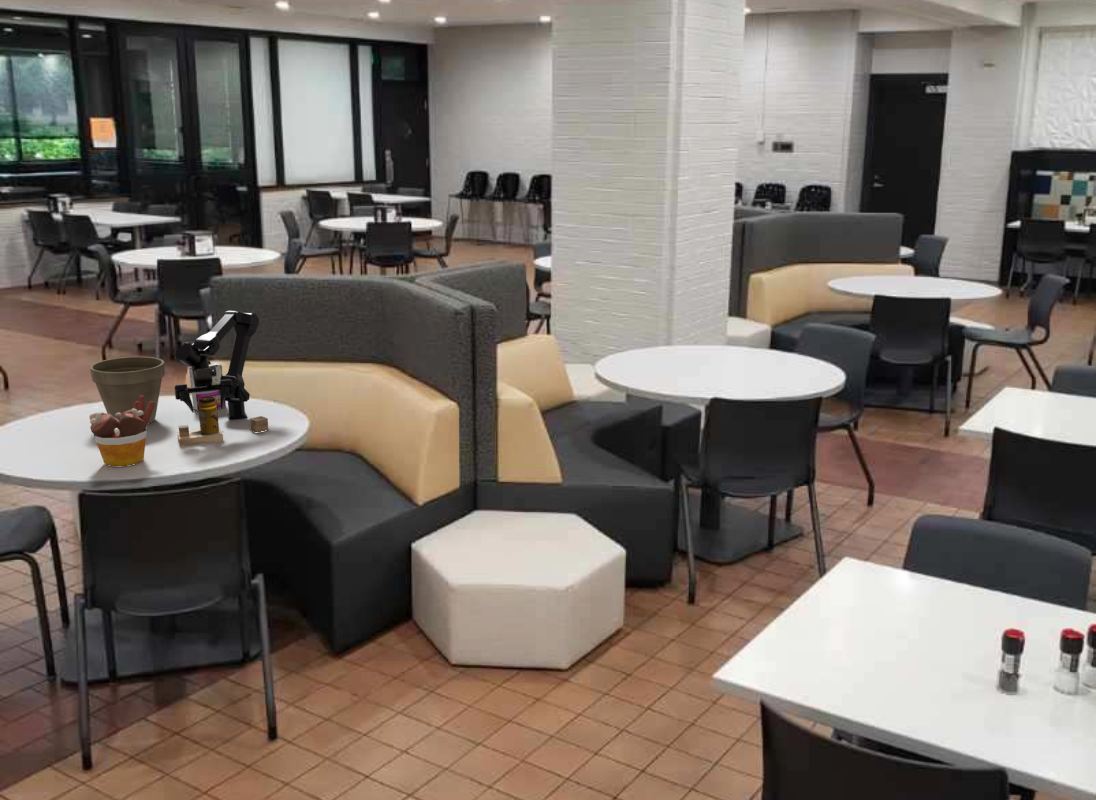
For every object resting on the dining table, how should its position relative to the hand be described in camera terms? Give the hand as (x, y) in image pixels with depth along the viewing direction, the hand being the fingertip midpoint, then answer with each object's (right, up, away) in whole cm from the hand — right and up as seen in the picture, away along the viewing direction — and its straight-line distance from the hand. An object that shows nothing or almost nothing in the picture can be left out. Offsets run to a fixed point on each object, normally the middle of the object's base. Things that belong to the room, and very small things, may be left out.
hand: (207, 410), depth 364 cm
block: (+14, -7, +13) cm, 20 cm away
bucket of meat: (-20, -16, -19) cm, 32 cm away
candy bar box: (-13, 0, +44) cm, 46 cm away
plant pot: (-35, -5, +26) cm, 44 cm away
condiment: (-1, -8, +2) cm, 8 cm away
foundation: (-3, -10, +2) cm, 11 cm away
